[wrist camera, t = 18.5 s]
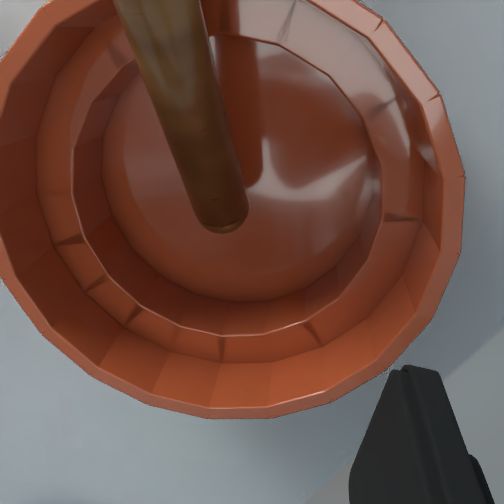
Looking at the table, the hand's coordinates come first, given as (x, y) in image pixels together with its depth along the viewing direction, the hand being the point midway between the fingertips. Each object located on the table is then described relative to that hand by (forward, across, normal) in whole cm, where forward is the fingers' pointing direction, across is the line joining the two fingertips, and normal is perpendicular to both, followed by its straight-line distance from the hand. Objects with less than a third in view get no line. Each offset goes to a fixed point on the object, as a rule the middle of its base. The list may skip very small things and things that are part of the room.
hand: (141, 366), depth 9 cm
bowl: (+12, 0, 0) cm, 12 cm away
